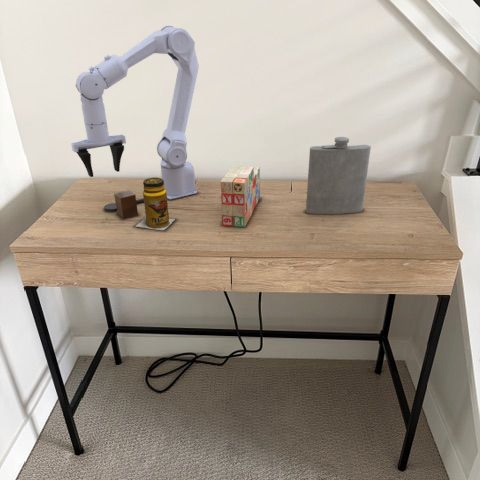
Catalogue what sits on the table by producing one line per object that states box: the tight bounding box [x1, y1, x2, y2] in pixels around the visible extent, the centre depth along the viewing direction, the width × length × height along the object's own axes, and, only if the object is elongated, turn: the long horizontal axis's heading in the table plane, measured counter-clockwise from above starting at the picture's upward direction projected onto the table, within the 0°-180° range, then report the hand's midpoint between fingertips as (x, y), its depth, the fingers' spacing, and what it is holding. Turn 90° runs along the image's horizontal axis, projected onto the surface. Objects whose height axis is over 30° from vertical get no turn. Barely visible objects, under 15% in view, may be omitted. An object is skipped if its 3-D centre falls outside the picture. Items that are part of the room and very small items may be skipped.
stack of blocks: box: [220, 165, 261, 228], centre depth 139 cm, size 21×6×12 cm, turn 167°
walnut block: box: [113, 189, 139, 220], centre depth 140 cm, size 4×4×6 cm
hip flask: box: [305, 136, 372, 215], centre depth 136 cm, size 16×4×20 cm, turn 94°
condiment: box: [134, 177, 176, 231], centre depth 133 cm, size 7×8×12 cm
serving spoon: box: [103, 197, 144, 213], centre depth 147 cm, size 16×5×1 cm, turn 124°
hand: (104, 173), depth 142 cm, fingers open, 7 cm apart
